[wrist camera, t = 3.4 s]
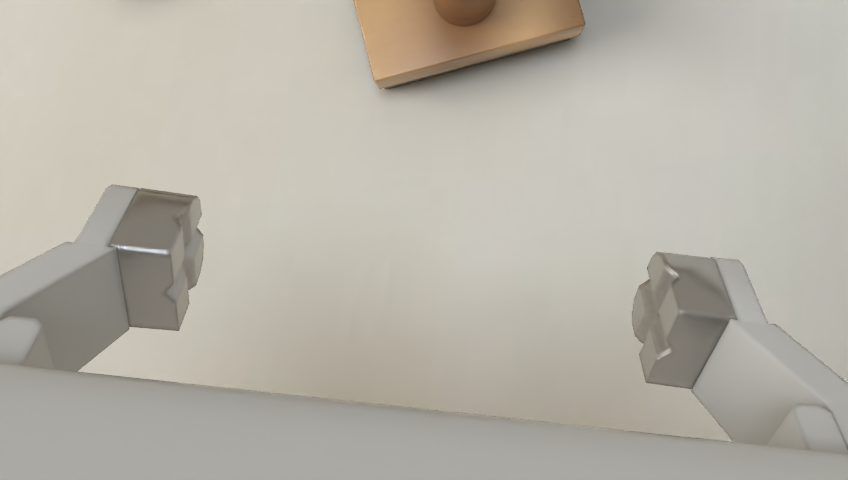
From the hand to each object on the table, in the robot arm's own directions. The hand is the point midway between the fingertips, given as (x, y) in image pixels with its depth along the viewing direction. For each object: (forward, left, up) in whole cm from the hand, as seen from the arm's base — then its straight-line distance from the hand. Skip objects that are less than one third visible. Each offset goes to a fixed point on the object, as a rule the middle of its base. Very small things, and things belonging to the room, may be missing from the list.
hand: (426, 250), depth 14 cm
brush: (-3, -10, -21) cm, 24 cm away
